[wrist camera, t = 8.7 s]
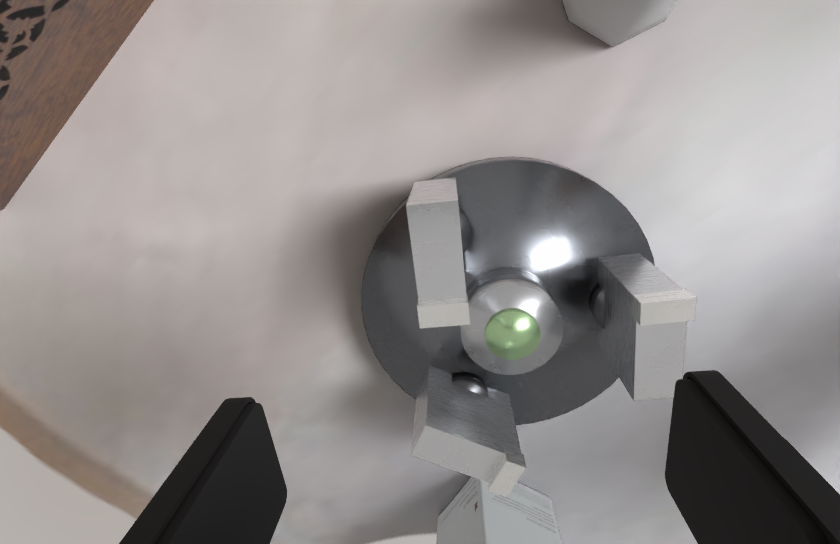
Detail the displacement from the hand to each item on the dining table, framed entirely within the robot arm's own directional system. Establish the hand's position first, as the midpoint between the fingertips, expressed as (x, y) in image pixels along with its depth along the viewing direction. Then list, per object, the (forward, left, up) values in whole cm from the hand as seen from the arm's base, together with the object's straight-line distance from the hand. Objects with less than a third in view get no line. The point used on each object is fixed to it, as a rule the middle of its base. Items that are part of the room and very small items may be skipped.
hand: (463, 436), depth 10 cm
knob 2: (-10, -5, -18) cm, 22 cm away
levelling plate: (-7, +1, -20) cm, 21 cm away
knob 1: (-10, +7, -18) cm, 22 cm away
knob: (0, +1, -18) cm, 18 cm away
